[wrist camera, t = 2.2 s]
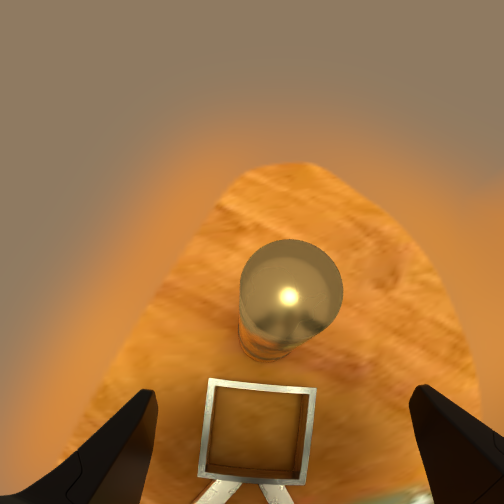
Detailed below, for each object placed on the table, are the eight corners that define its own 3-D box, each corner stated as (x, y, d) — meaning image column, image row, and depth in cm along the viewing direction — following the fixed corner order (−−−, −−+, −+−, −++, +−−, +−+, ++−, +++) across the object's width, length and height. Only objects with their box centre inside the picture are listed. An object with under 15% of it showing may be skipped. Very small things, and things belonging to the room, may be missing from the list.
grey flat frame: (300, 525, 15) (306, 537, 13) (185, 516, 15) (180, 528, 13) (319, 388, 20) (328, 388, 18) (201, 376, 20) (197, 376, 18)
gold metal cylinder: (290, 365, 20) (342, 344, 10) (235, 359, 20) (231, 334, 10) (295, 312, 22) (344, 244, 12) (241, 306, 22) (245, 232, 12)
